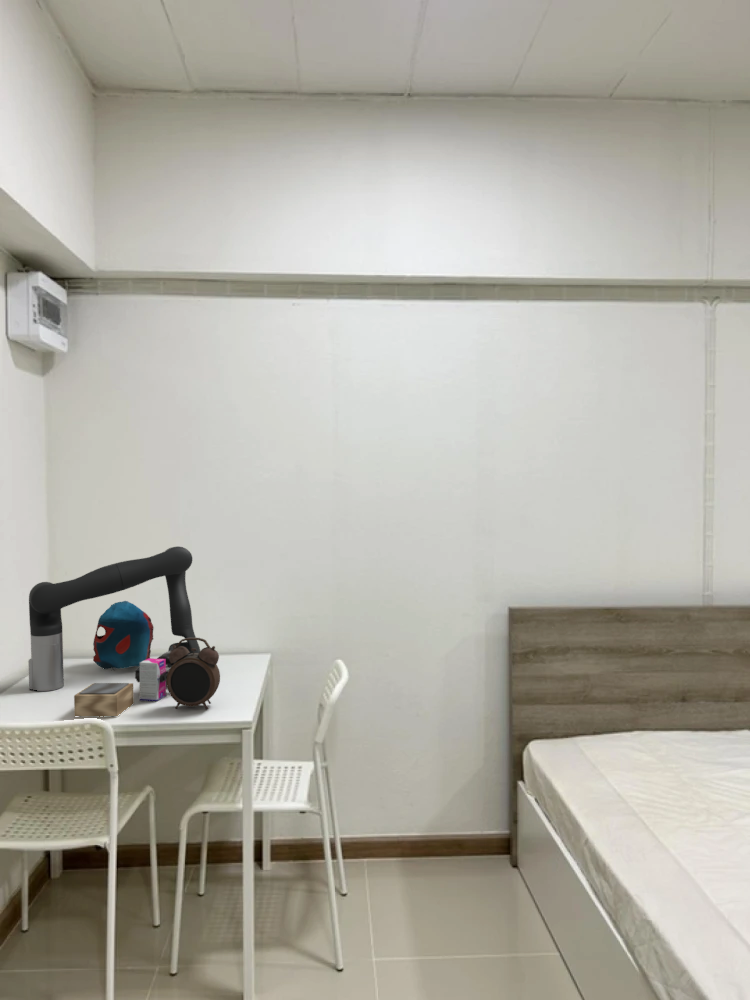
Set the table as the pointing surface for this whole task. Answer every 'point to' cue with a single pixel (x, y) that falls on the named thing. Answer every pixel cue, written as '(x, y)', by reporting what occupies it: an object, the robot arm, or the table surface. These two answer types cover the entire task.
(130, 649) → the mask
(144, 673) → the supplement box
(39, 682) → the robot arm
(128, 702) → the pedestal
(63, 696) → the table surface
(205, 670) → the alarm clock
